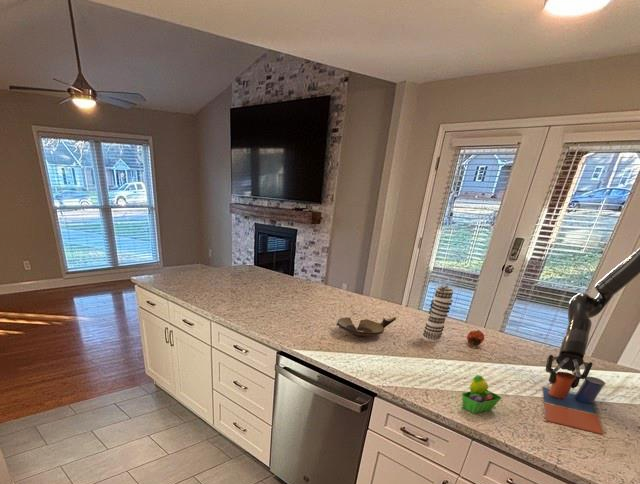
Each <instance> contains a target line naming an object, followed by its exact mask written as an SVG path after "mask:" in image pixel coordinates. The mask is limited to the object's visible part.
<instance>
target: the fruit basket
mask: <svg viewBox="0 0 640 484" xmlns="http://www.w3.org/2000/svg"><path fill="white" fill-rule="evenodd" d="M469 390H470V391H466V392H462V393H461V397H462V402H461V403H462V408H463V409H465V410H466V411H468V412H470V413H472V414H478V413H482V412H486V411H491V410H493V409H494V408H495V406H496V405H497V404H498V403H499V402H500V400H501V399H502V397H501V396H500V395H498V394H496V393H494V392H492V391H490V390H489V385H488V383H487V381H486V380H485V378H484V377H483V376H482V375H479V374H476V375H475V376H473V377H472V381H471V383H470V385H469Z"/></svg>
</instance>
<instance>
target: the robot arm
mask: <svg viewBox="0 0 640 484" xmlns="http://www.w3.org/2000/svg"><path fill="white" fill-rule="evenodd" d="M639 275H640V247H639V248H638V249H637V250H636V251H634V252H633V253H632V254H631V255H630V256H629V257H627V258H625V260H623V261H622V262H621V263H619V264H618V265H617V266H616V267H614V268H613V269H612V270H611V271H609V272H608V273H607V274H606V275H605V276H603V277H602V279H600V280H599V281H598V282H597V283H596V284H595V286H594V289H595V291H596V292H597V293H598V294H597V296H596V297H593V296H591V295H590V294H588V293H584V292H580V293H577V294H576V295H574V296H573V297H572V298H571V299H570V300H569V303H568V305H567V320H568V321H567V322H568V324H567V327H566V331H565V334H564V336H563V339H562V341H561V346H560V349H559V351H558V352H559V353H558V355H557V356H554V355H552V354H550V355H549V356H548V357H547V358H546V364H545V372H546V373H549V379H548V382H549V384H550V385H552V384H553V382H554V380H555V376H556V373H557V372H559V370H560V369H561V370H563V371H564V370H565V371H566V370H567V371H568V372H571V374H573V375H575V376H576V379H575V381H574V383H573V385H572V387H571V389H575V388H577V387H578V386H579V385H580V381H581V380H585V378H586V377H589V373H590V371H591V369H592V367H593V362H591V361H590V362H588V361H587V362H586V361H584V356H585V353H586V349H587V346H588V343H589V337H590V332H591V329H592V319H591V318H594V317H596V316H597V315H599V314H600V313H601V312H602V311H603V310H604V308H605V307H606V306H607V305H608V303H609V302H610V301H611V300H612V298H613V297H614V296H615V295H616V294H617V293H618V292H620V291H621V290H622V289H624V288H625V287H626V286H627V285H628V284H630V283H631V282H632V281H633V280H634V279H635V278H637V277H638V276H639ZM555 361H556V363H557V366H555V367H554V368H552V367H553V363H554V362H555ZM581 366H583V367H582V368H583V372H582V374H581V369H580V367H581Z"/></svg>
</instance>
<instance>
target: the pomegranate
mask: <svg viewBox="0 0 640 484" xmlns="http://www.w3.org/2000/svg"><path fill="white" fill-rule="evenodd" d="M484 340H485V333H484V332H482V331H481V330H480V329H477V330H471V331H469V333H467V336H466V341H467V343H468V344H470V345H471V346H470V347H472V346H473V345H475V346H479V345H481V344H482V343H483V342H484Z"/></svg>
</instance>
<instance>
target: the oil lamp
mask: <svg viewBox="0 0 640 484" xmlns="http://www.w3.org/2000/svg"><path fill="white" fill-rule="evenodd" d="M396 319H397V317H396V316H393V317H391V318H383V319H382V322H381V323H380V322H377V321H373V320H371V319H368V318H365V319H361V320H360V321H359V324H358V326H357V327H356V326H355V324H354V323H353V321H352V318H351V317H350V316H349V317H341V318H339V319H338V320H337V323H335V324H336V326H338V327H339V329H342V330H344V331H345V332H348V333H349V334H351V335H355V336H358V337H372V336H373V337H374V336H377V335H380V334H383V333H384V332H385V329H386V328H387V327H388V326H390V324H393V322H395V320H396Z"/></svg>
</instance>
